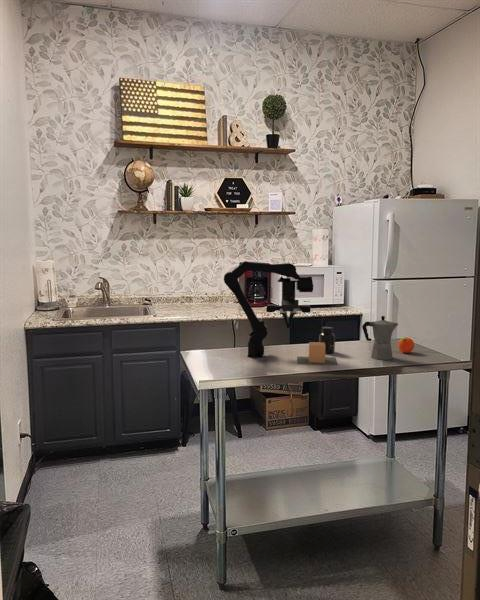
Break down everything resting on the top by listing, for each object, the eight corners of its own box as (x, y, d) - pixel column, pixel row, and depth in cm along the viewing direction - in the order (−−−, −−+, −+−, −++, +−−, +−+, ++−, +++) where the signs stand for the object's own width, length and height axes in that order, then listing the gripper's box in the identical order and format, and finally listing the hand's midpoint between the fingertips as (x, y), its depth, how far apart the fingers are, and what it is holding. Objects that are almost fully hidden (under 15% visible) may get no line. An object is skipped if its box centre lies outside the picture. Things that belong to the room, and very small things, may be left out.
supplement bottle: (334, 356, 222) (335, 329, 221) (318, 355, 224) (319, 328, 222) (334, 353, 229) (335, 326, 228) (319, 352, 230) (319, 326, 229)
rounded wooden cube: (309, 362, 207) (309, 345, 206) (308, 358, 213) (308, 342, 212) (325, 362, 206) (325, 345, 205) (324, 359, 213) (324, 342, 212)
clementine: (406, 355, 224) (406, 339, 223) (393, 352, 230) (393, 336, 229) (417, 353, 229) (418, 337, 228) (404, 350, 234) (404, 335, 234)
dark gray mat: (297, 366, 204) (297, 364, 204) (297, 358, 218) (297, 356, 218) (338, 367, 202) (338, 365, 202) (335, 359, 216) (335, 357, 216)
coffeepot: (393, 355, 225) (394, 314, 223) (400, 359, 216) (402, 317, 214) (358, 355, 224) (359, 314, 222) (364, 360, 215) (365, 317, 213)
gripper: (265, 294, 214) (265, 331, 216) (310, 294, 212) (310, 331, 214) (267, 291, 225) (267, 326, 227) (310, 291, 223) (309, 327, 225)
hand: (288, 328), depth 223 cm, fingers closed
